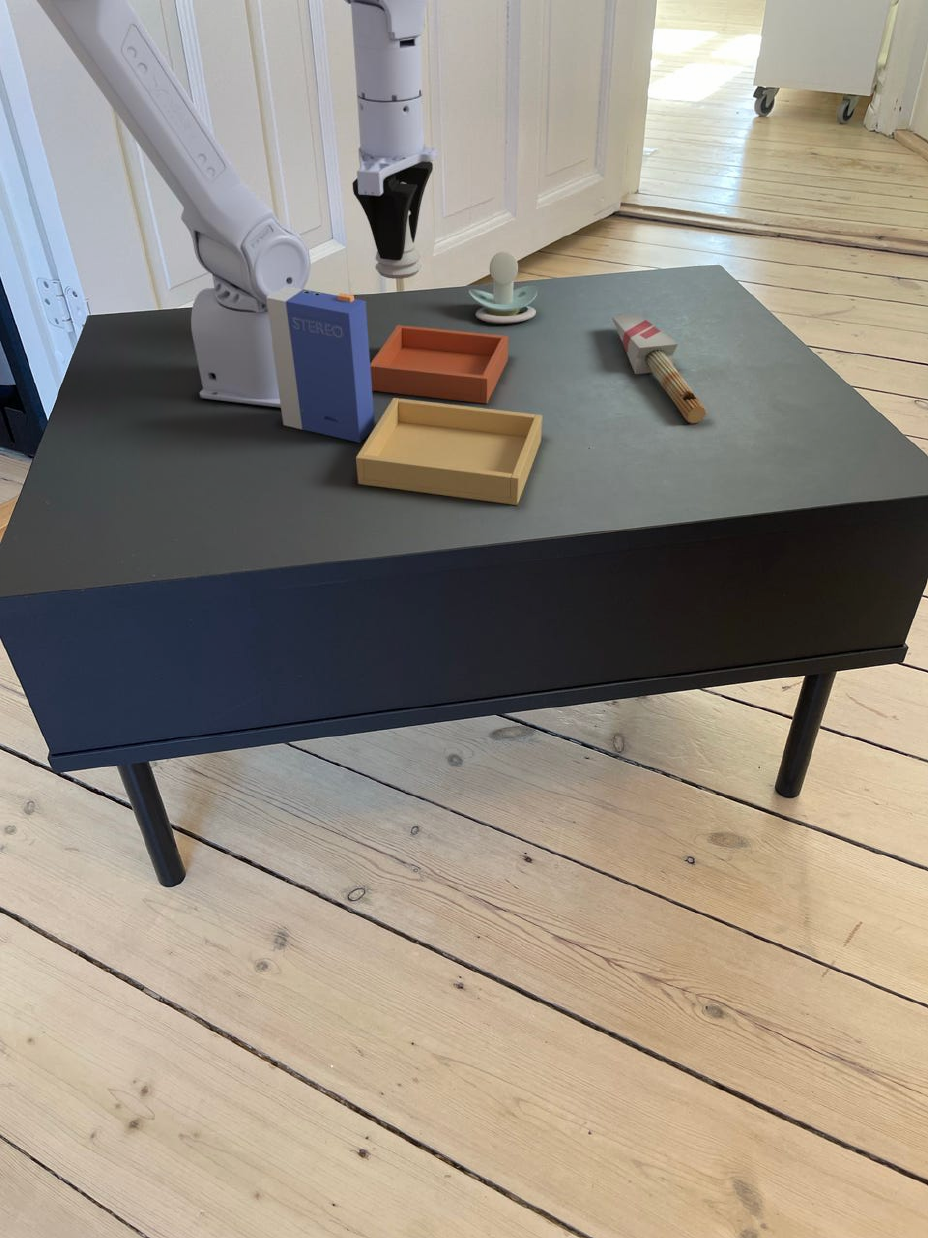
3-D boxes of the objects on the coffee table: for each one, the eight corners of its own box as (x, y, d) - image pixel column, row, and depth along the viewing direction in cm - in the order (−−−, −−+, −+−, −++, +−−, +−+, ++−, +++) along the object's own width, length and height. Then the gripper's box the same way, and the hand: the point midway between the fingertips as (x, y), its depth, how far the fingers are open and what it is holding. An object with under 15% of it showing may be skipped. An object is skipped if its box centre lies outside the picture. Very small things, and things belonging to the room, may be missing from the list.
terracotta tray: (370, 390, 91) (368, 365, 89) (398, 348, 98) (397, 324, 96) (487, 403, 89) (487, 378, 87) (507, 359, 96) (508, 335, 94)
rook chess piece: (415, 281, 93) (412, 194, 88) (370, 278, 94) (364, 191, 88) (425, 264, 96) (423, 179, 91) (381, 261, 97) (377, 176, 92)
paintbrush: (644, 298, 99) (718, 399, 85) (640, 324, 101) (713, 426, 86) (608, 301, 98) (676, 403, 84) (605, 327, 100) (671, 431, 86)
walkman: (375, 428, 86) (365, 295, 78) (359, 443, 84) (348, 308, 76) (299, 410, 88) (282, 280, 80) (282, 424, 86) (263, 292, 78)
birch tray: (358, 484, 79) (355, 457, 77) (394, 422, 86) (393, 397, 85) (517, 505, 76) (518, 478, 75) (541, 440, 84) (542, 414, 82)
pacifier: (543, 325, 102) (532, 300, 106) (546, 266, 98) (535, 243, 102) (474, 329, 101) (466, 304, 106) (474, 270, 97) (466, 247, 101)
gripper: (411, 117, 79) (417, 282, 87) (454, 77, 89) (455, 228, 98) (328, 112, 80) (342, 275, 89) (380, 74, 91) (388, 223, 99)
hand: (397, 250), depth 94 cm, fingers closed on rook chess piece, 3 cm apart
